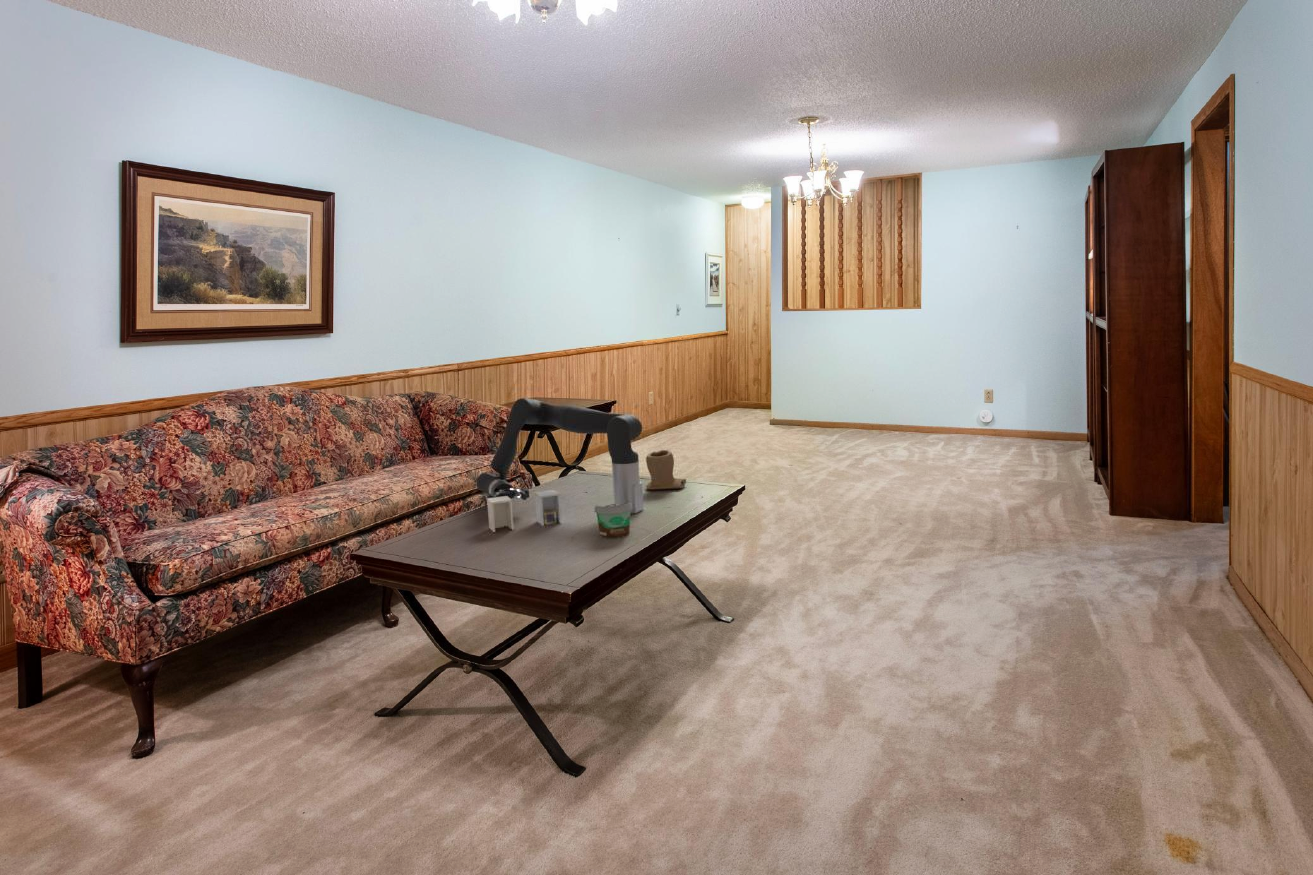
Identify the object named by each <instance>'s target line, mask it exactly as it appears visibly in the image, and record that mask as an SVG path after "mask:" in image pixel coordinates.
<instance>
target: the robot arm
mask: <svg viewBox="0 0 1313 875" xmlns="http://www.w3.org/2000/svg"><path fill="white" fill-rule="evenodd" d="M525 424H526V425H547V426H554V427H556V428H558V429H559V430H560V429H561V430H562V431H566V432H569V433H575V434H584V435H585V434H587V435H589V434H591V435H592V434H594V435H595V434H605V435H606V439H607V440H606V441H607V448H608V453H609V457H610V460H611V472H612V473H611V474H612V475H611V477H612V488H613V490H612V492H613V493H612V494H613V495H612V496H613V504H624V503H628V500H630V502H631V504H632V509H631V510H630V514H637V513H639V512H642V511H643V510H644V498H643V494H644V492H643V482H641V481H640V479H641V478H640V463H639V461H640V460H639V458H640V457H639V454H638V452H636V451H634V450H633V449H632V441H633V440H637V438H638V437H640V436H641V434H642V432H643V425H642V422H641V420H640V419H639V418H638V417H636V416H635V415H633V414H630V413H612V412H604V411H600V410H596V409H591V408H587V407H581V406H577V405H567V404H565V405H554V404H550V403H547V402H544V401H541V400H538V399H532V398H526V397H521V398H518V399H516V401H514V403H513V404H512V407H511V410H510V412H509V415H508V419H507V421H506V426H505V429H504V431H503V435H502V438H501V441H500V443H499V445H498V448H497V450H496V452H495V454H494V456H493V458H492V460H491V462H490V468H491V469H492V470H493V471H494V472H496V473H498V474H499V475H495V474H493V473H489V472H481V473H480V474H479V475H478V477H477V478H476V482H475V483H476V484H475V485H476V487H477V489H478V490H479V491H480V492H483V493H485V500H486V501H487V498H495V497H503V496H508V497H509V498H510V499H511V500H512V501H514V500H516V501H517V500H520V499H521V500H523V501H526V500H527V499H529V498H530V490H529V489H527V488H525V487H521V488H520V489H518V488H514V486H513V485H512V484H511V483H510V482H508V481H507V477H508V474H509V470H510V469H511V466H512V464H513V462H514V461H515V458H516V456H517V452H518V439H519V438H518V437H519V434H520V433H521V430H522V428H523V427H524V425H525Z"/></svg>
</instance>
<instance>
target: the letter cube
mask: <svg viewBox="0 0 1313 875" xmlns="http://www.w3.org/2000/svg"><path fill="white" fill-rule="evenodd" d="M543 518H544V525H545V524H546V525H552V524H557V519H556V511H555V510H553V509H549V510H543Z"/></svg>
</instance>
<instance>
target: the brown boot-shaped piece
mask: <svg viewBox="0 0 1313 875" xmlns="http://www.w3.org/2000/svg"><path fill="white" fill-rule="evenodd" d="M645 463H646V467H647V470H648V472H649V475H650V478H651V481H650V482H648V483H647V484H646V485H645V487H646V489H648V490H678V489H683V488H684V487H685V486H686V484H687V479H686V478H675V477H674V475H673V474H674V466H675V458H674V454H673V453H672V451H671V450H668V449H661V450H658V451H652V452H650V453H648V454H647V455H646V457H645Z"/></svg>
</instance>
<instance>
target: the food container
mask: <svg viewBox="0 0 1313 875" xmlns="http://www.w3.org/2000/svg"><path fill="white" fill-rule="evenodd" d="M631 509H632V504H631V502H630V500H628V503H624V504H614V503H612V504H609V505H606V506H602V505H595V507H594V513H596V517H597V524H598V532H599V537H600V536H602V537H601V538H604V537H605V539H619V538H618V537H620V538H624V537H623V536H625V537H627V536H629V535H630V528H631V527H630V524H631V513H630V510H631Z"/></svg>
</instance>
